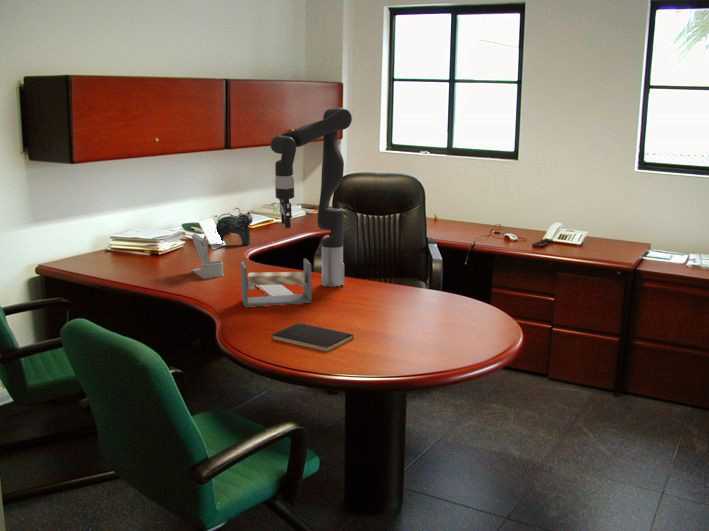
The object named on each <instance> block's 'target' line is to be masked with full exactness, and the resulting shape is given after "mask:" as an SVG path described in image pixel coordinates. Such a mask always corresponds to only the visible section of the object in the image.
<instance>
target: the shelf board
mask: <svg viewBox="0 0 709 531" xmlns="http://www.w3.org/2000/svg"><path fill="white" fill-rule="evenodd" d="M247 279H248V280H247V283H248V285H283V286H285V285H299V284H305V278H304V271H281V272H280V271H275V272H274V271H273V272H272V271H271V272H270V271H269V272H248V273H247Z"/></svg>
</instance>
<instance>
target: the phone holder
mask: <svg viewBox="0 0 709 531" xmlns="http://www.w3.org/2000/svg"><path fill="white" fill-rule="evenodd" d="M190 236H191V238H192V241H193V243H194V246H195V248H196V250H197V253H198V255H199V257H200V259H201V263H200V266H201V268H194V269H192V272H193V273H194V274H196V275H197V276H199V277H200V278H201V279H204V280H205V279H206V278H207V279H213V277H215V278H221V276H223V277H225V274H224V267H223V266H224V263H223V261H222V260H221V261H220V260H215V261H211V260H210V256H209V255H208V251H209V246H208V244H207V241H206V240H205V238H203V237H202V236H200V235H199V234H196V233H193V234H191V235H190ZM207 279H206V280H207Z"/></svg>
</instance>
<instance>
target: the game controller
mask: <svg viewBox="0 0 709 531" xmlns="http://www.w3.org/2000/svg"><path fill="white" fill-rule="evenodd" d="M236 209H237V210H239V213H238V215H233V214H231V213H223V214H221V215H219V217H218V219H217V223H216V228H215V230H216V229H217V232H218V234H219V235H220V237H221V240H222V241H225V237H226V235H227V234H230V233H231V234H237V235H239V236H240V239H241V244H242V246H243V247H244V246H246V247H247V246H251V234H250V233H251V232H250V228H249V227H250V225H252V223H253V216H252V215H251V213H250V211H248V212H246V213H243V212H241V209H240V208H238V207H235V208H234V210H236ZM225 215H228V216H225ZM222 216H223V217H222Z"/></svg>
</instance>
